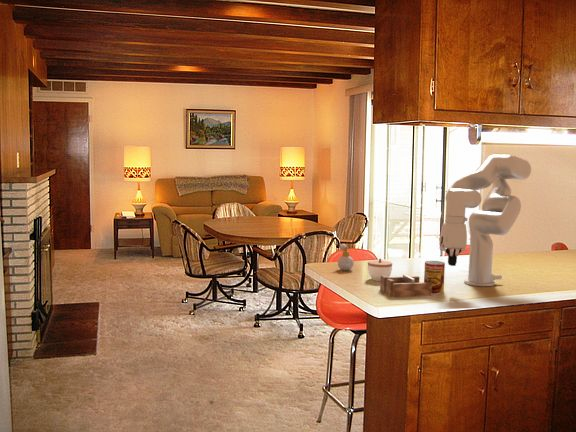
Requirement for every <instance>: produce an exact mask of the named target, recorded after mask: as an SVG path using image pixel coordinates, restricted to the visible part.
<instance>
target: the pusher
mask: <svg viewBox="0 0 576 432" xmlns="http://www.w3.org/2000/svg"><path fill="white" fill-rule="evenodd" d="M402 277H403V282H402V283H415V279H413V278H411V277H410V276H409V275H407V274H402Z"/></svg>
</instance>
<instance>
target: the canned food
mask: <svg viewBox="0 0 576 432" xmlns="http://www.w3.org/2000/svg"><path fill="white" fill-rule="evenodd" d="M445 265H446V262H444V261H441V260H426V261H424V271H423V273H424V276H423V277H424V279H423V283H427V282H431V283H432V295H433V294H434V295H436V294H437V295H441V294H443V293H444V289H445V288H444V287H445V268H446V266H445Z"/></svg>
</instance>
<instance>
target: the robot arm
mask: <svg viewBox="0 0 576 432" xmlns="http://www.w3.org/2000/svg"><path fill="white" fill-rule="evenodd" d="M531 172H532V166H531V163H530V162H529V161H528V160H526V159H523V158H521V157H518V156H516V155H512V154H492V155H489V156H487V157H486V158H485V159H484V161H483V162H482V163H481V164H480V165H479V167H477V169H476V170H475V171H474V172H471V173H470V174H467V175H466V176H463V177H461V178H459V179H457V180H456V181H454V183H452V185H451V186H450V187H449V188H448V189H447V192H446V195H445V202H446V204H445V205H446V206H445V221H444V222H443V223H442V224H441V225H442V226H441V229H440V230H441V231H440V233H439V234H440V236H439V242H438V243H439V246H440V248H439V249H440V251H443V252H445V253H446V254H447V256H448V257H447V264H448V266H451V267H455V266H456V265H457V261H458V256H459V255H460V254H461V253H462V252H465V251H466V250H467V249H466V248H467V242H468V233H467V232H468V231H467V224H466V223H465V222H468V227H469V236H470V239H469V240H470V241H469V256H468V257H469V259H468V260H469V261H468V274H467V275H468V276H467V278H465V279H464V281H463V282H464V283H465V284H466V285H469V286H476V287H493V286H495V284H496V282H495V280H499V281H500V280H502V279H503V276H502V275H501V274H497V275H496V274H494V273H493V272H492V271H493V254H494V253H493V252H494V242H493V239H492V237H491V235H494V236H505V235H508V233H510V231H511V229H512V227H513V226H514V224H515V222H516V221H517V219H518V217H519V215H520V213H521V208H522V205H521V204H522V203H521V200H520V198H519V197H517V196H516V195H512V189H511V186H510V185H509V184H508V182H507V180H516V181H517V180H520V181H522V180H523V181H525V180H526V179H528V178H529V177H530V176H531ZM490 186H491V189H490V191H488V194H486V196H485V198H484V200H483V202H482V195H481V193H480V192H479V191H480V190H484V189H487V188H489V187H490ZM481 202H482V205H481V210H477V211H473V212H471V214H470V215H469V217H466V209H475V208H477V207H478V206H479V205H480V204H481Z"/></svg>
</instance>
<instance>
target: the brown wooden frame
mask: <svg viewBox="0 0 576 432" xmlns="http://www.w3.org/2000/svg"><path fill="white" fill-rule="evenodd" d="M409 277H411V278H413V279H415V283H402V282H403V276H389V277H387V276H385V275H381V281H380V282H379V283H380V285H379V286H380V287H379V288H380V289H379V290H380V291H381V292H382V293H385V294H386V295H388V297H389V296H390V297H393V298H396V297H397V298H398V297H402V298H403V297H430V296H432V295H433V294H432V283H431V282H427V283H424V282H420V276H419V275H417V276H413V275H412V276H411V275H410V276H409Z"/></svg>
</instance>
